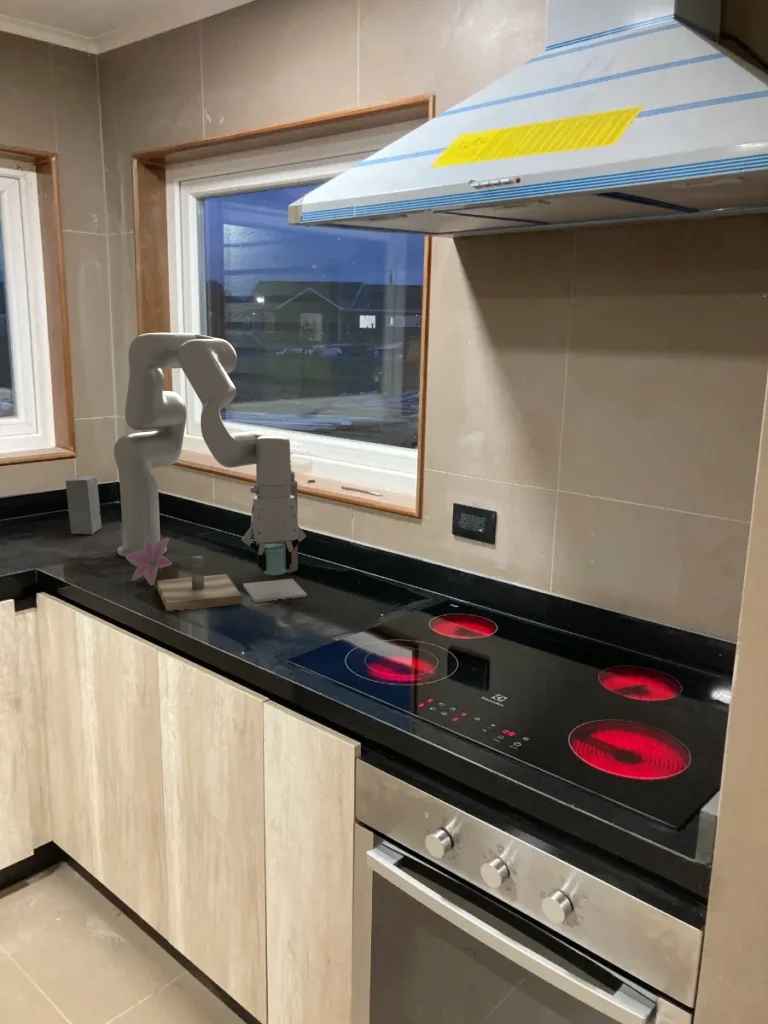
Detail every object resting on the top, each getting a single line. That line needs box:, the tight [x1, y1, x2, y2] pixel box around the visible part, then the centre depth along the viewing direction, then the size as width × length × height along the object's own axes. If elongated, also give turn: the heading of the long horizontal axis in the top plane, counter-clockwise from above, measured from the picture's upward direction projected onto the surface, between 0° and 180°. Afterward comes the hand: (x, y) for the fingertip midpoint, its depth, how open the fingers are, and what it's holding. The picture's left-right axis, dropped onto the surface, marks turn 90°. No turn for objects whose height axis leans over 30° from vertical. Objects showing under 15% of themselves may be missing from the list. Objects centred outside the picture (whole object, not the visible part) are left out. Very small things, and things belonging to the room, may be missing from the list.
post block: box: [156, 555, 242, 612], centre depth 184 cm, size 16×16×9 cm
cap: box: [263, 544, 286, 576], centre depth 188 cm, size 5×5×6 cm
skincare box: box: [65, 475, 102, 535], centre depth 236 cm, size 8×7×16 cm
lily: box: [125, 537, 173, 586], centre depth 196 cm, size 12×12×10 cm
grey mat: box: [242, 578, 308, 603], centre depth 189 cm, size 12×12×1 cm
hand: (274, 568), depth 188 cm, fingers closed on cap, 4 cm apart
